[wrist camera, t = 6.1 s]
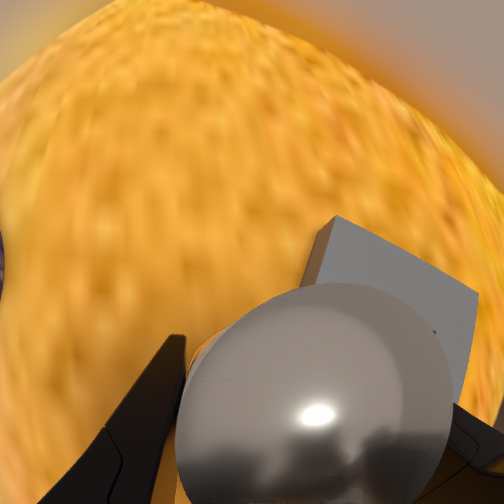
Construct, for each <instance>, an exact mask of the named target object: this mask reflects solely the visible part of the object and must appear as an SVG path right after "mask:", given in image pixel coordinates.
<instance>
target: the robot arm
mask: <svg viewBox="0 0 504 504" xmlns="http://www.w3.org/2000/svg"><path fill="white" fill-rule="evenodd" d="M185 382H186V336H185V335H180V334H171V335H169V336H168V338H167V339H166V340H165V342H164V343H163V345H162V346H161V347H160V349H159V350H158V351H157V353H156V354H155V355H154V357H153V358H152V360H151V361H150V362H149V364H148V365H147V366H146V368H145V369H144V371H143V372H142V373H141V375H140V376H139V378H138V379H137V380H136V382H135V383H134V384H133V386H132V387H131V389H130V390H129V391H128V393H127V394H126V396H125V397H124V398H123V400H122V401H121V403H120V404H119V405H118V407H117V408H116V410H115V411H114V412H113V414H112V415H111V417H110V418H109V419H108V421H107V422H106V424H105V427H103V428H102V429H101V430H100V432H99V433H98V435H97V436H96V438H95V439H94V440H93V442H92V443H91V444H90V445H89V447H88V448H87V449H86V451H85V452H84V453H83V455H82V456H81V457H80V458H79V459H78V460H77V461H76V463H75V464H74V465H73V466H72V467H71V468H70V469H69V470H68V471H67V472H66V474H65V475H64V476H63V477H62V478H61V479H60V480H59V481H58V482H57V483H56V484H55V485H54V486H53V487H52V488H51V489H50V490H49V491H48V492H47V494H46V495H45V496H44V497H43V498H42V499H41V500H40V501H39V502H38V503H37V504H174V501H175V492H176V483H177V474H178V468H177V463H176V453H175V434H176V425H177V418H178V413H179V408H180V404H181V399H182V395H183V391H184V386H185ZM412 504H504V434H503V433H501V432H499V431H498V430H496V429H494V428H493V427H491V426H489V425H488V424H486V423H484V422H483V421H481V420H479V419H478V418H476V417H474V416H473V415H471V414H470V413H468V412H467V411H466V410H464V409H463V408H461V407H460V406H458V405H457V404H456V403H454V402H453V416H452V422H451V428H450V433H449V436H448V440H447V444H446V447H445V450H444V452H443V455H442V457H441V460H440V462H439V464H438V466H437V468H436V470H435V472H434V474H433V476H432V477H431V479H430V480H429V482H428V483H427V485H426V486H425V488H424V489H423V491H422V492H421V493H420V494H419V496H418V497H417V498H416V499H415V501H414V502H413V503H412Z"/></svg>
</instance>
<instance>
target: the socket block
mask: <svg viewBox="0 0 504 504" xmlns="http://www.w3.org/2000/svg"><path fill="white" fill-rule="evenodd" d="M331 282H336V283H355V284H361V285H367V286H370V287H373V288H377V289H380V290H383V291H385V292H387V293H389V294H391V295H393V296H395V297H397V298H399V299H400V300H402V301H403V302H405V303H406V304H408V305H409V306H411V307H412V308H413V309H414V310H415V311H416V312H417V313H418V314H419V315H420V316H421V317H422V318H423V319H424V320H425V321H426V323H427V324H428V325H429V326H430V327H431V329H432V330H433V332H434V334H435V335H436V337H437V338H438V340H439V342H440V344H441V346H442V348H443V351H444V353H445V355H446V358H447V362H448V365H449V368H450V373H451V379H452V385H453V402H454V403H456V404H457V405H458V401H459V398H460V394H461V390H462V387H463V383H464V379H465V374H466V370H467V366H468V361H469V356H470V351H471V346H472V340H473V334H474V328H475V321H476V314H477V306H478V297H479V293H477V292H476V291H474V290H472V289H471V288H469V287H467V286H466V285H464V284H462V283H461V282H459V281H457V280H456V279H454V278H452V277H451V276H449V275H447V274H446V273H444V272H442V271H440V270H439V269H437V268H435V267H434V266H432V265H430V264H428V263H426V262H425V261H423V260H421V259H419V258H418V257H416V256H414V255H412V254H410V253H409V252H407V251H405V250H403V249H401V248H399V247H398V246H396V245H394V244H392V243H390V242H388V241H386V240H384V239H383V238H381V237H379V236H377V235H375V234H373V233H371V232H369V231H367V230H365V229H363V228H361V227H359V226H357V225H356V224H354V223H352V222H350V221H348V220H346V219H344V218H342V217H339V216H337V215H336V216H335V217H333V218H332V219H331V220H330V221H329V222H328V223H327V224H326V225H325V226H324V227H323V228H322V229H321V230H320V231H319V232H318V234H317V237H316V240H315V243H314V246H313V249H312V252H311V255H310V258H309V261H308V264H307V267H306V270H305V273H304V276H303V279H302V282H301V285H300V288H302V287H306V286H310V285H315V284H323V283H331Z"/></svg>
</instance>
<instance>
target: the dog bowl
mask: <svg viewBox="0 0 504 504" xmlns="http://www.w3.org/2000/svg"><path fill="white" fill-rule="evenodd" d="M3 279H4V250H3V242H2V237H1V233H0V298H1V293H2V287H3Z"/></svg>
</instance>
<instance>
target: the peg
mask: <svg viewBox="0 0 504 504" xmlns="http://www.w3.org/2000/svg"><path fill="white" fill-rule="evenodd" d="M452 416H453V385H452V379H451V373H450V368H449V365H448V362H447V358H446V355H445V353H444V351H443V348H442V346H441V344H440V342H439V340H438V338H437V337H436V335H435V334H434V332H433V330H432V329H431V327H430V326H429V325H428V324H427V323H426V321H425V320H424V319H423V318H422V317H421V316H420V315H419V314H418V313H417V312H416V311H415V310H414V309H413V308H412V307H411V306H409V305H408V304H406V303H405V302H403V301H402V300H400V299H399V298H397V297H395V296H393V295H391V294H389V293H387V292H385V291H383V290H380V289H377V288H373V287H370V286H367V285H361V284H355V283H336V282H331V283H323V284H315V285H310V286H306V287H302V288H298V289H294V290H291V291H289V292H287V293H284V294H282V295H279V296H277V297H274V298H272V299H270V300H269V301H267V302H265V303H263V304H262V305H260V306H258V307H256V308H255V309H253V310H251V311H250V312H249V313H247V314H246V315H244V316H243V317H241V318H240V319H238V320H236V321H235V322H233V323H232V324H230V325H229V326H227V327H226V328H224V329H223V330H221V331H220V332H218V333H217V334H215V335H214V336H212V337H210V338H209V339H208V340H206V341H205V342H204V343H203V344H201V345H200V346H199V348H198V349H197V350H196V352H195V353H194V355H193V357H192V359H191V361H190V365H189V369H188V373H187V377H186V382H185V386H184V391H183V395H182V399H181V404H180V408H179V413H178V418H177V425H176V434H175V453H176V463H177V468H178V472H179V476H180V480H181V483H182V485H183V487H184V490H185V492H186V495H187V497H188V498H189V500H190V502H191V503H192V504H412V503H413V502H414V501H415V499H416V498H417V497H418V496H419V494H420V493H421V492H422V491H423V489H424V488H425V486H426V485H427V483H428V482H429V480H430V479H431V477H432V476H433V474H434V472H435V470H436V468H437V466H438V464H439V462H440V460H441V457H442V455H443V452H444V450H445V447H446V444H447V440H448V436H449V433H450V428H451V422H452Z"/></svg>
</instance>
